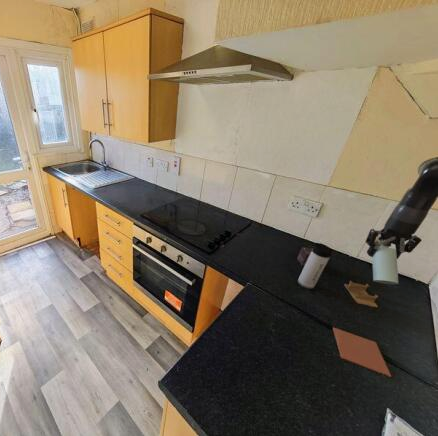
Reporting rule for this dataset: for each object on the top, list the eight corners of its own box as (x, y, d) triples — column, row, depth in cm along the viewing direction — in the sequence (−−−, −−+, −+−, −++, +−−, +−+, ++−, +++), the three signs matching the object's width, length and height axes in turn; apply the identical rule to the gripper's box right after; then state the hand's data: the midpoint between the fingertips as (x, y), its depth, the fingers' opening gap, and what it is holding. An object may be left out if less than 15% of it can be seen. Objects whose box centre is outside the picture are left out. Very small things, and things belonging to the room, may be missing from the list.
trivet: (375, 343, 76) (375, 342, 76) (390, 377, 66) (391, 376, 66) (332, 328, 80) (333, 327, 80) (341, 357, 71) (341, 357, 70)
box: (301, 265, 112) (307, 253, 108) (296, 258, 117) (301, 246, 114) (314, 267, 111) (320, 255, 108) (308, 260, 116) (314, 248, 113)
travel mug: (298, 276, 104) (316, 240, 95) (315, 284, 100) (335, 247, 91) (295, 282, 100) (312, 245, 91) (312, 291, 96) (332, 253, 87)
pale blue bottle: (389, 284, 82) (403, 283, 77) (368, 280, 84) (381, 279, 78) (386, 241, 87) (400, 237, 81) (367, 238, 88) (379, 234, 83)
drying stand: (377, 307, 90) (382, 300, 88) (356, 303, 92) (361, 296, 90) (362, 288, 100) (366, 282, 98) (344, 284, 101) (347, 278, 99)
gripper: (387, 219, 75) (363, 259, 83) (442, 226, 72) (411, 267, 79) (374, 210, 81) (353, 248, 89) (424, 216, 78) (397, 255, 86)
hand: (380, 257), depth 84 cm, fingers closed on pale blue bottle, 6 cm apart
